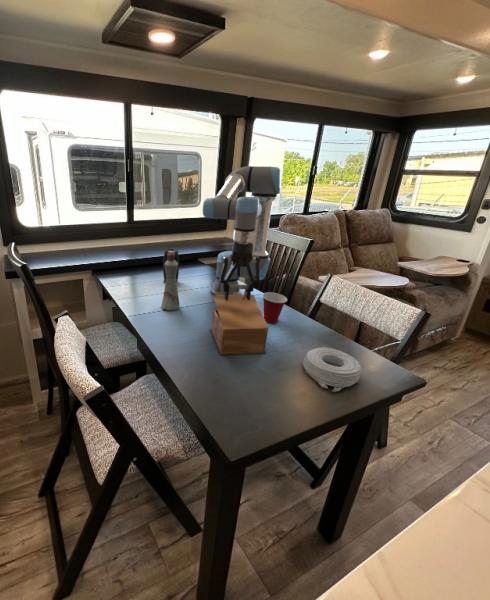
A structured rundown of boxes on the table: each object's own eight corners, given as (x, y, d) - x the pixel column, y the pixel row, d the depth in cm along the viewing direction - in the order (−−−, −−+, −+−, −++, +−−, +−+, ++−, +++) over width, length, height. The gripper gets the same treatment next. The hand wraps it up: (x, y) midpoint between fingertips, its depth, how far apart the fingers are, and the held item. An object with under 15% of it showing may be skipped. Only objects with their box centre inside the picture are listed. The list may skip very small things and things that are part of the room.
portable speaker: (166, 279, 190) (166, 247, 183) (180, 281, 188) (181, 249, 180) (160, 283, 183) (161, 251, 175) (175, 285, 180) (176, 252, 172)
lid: (213, 296, 126) (216, 281, 121) (253, 296, 127) (257, 281, 123) (223, 330, 111) (226, 315, 106) (267, 329, 113) (273, 314, 108)
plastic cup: (284, 327, 136) (289, 302, 131) (259, 324, 138) (263, 299, 133) (282, 316, 146) (286, 293, 141) (258, 314, 147) (261, 290, 143)
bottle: (157, 307, 152) (157, 251, 141) (170, 302, 158) (171, 248, 147) (170, 313, 146) (171, 255, 135) (183, 307, 152) (184, 251, 141)
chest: (211, 330, 132) (212, 309, 128) (249, 329, 133) (251, 308, 130) (221, 354, 115) (223, 331, 111) (264, 353, 116) (268, 330, 113)
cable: (331, 396, 95) (335, 380, 92) (290, 365, 110) (293, 350, 107) (370, 382, 101) (375, 367, 99) (327, 354, 116) (330, 340, 114)
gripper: (217, 244, 108) (212, 303, 118) (274, 244, 110) (266, 302, 119) (213, 239, 115) (209, 295, 124) (267, 239, 117) (259, 294, 126)
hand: (237, 298), depth 122 cm, fingers closed on lid, 8 cm apart
